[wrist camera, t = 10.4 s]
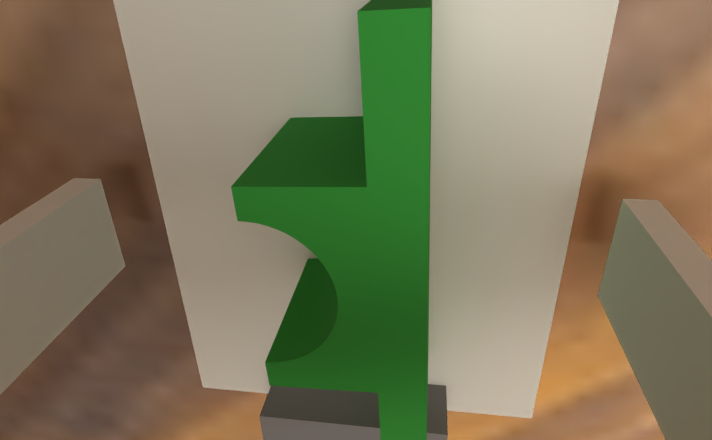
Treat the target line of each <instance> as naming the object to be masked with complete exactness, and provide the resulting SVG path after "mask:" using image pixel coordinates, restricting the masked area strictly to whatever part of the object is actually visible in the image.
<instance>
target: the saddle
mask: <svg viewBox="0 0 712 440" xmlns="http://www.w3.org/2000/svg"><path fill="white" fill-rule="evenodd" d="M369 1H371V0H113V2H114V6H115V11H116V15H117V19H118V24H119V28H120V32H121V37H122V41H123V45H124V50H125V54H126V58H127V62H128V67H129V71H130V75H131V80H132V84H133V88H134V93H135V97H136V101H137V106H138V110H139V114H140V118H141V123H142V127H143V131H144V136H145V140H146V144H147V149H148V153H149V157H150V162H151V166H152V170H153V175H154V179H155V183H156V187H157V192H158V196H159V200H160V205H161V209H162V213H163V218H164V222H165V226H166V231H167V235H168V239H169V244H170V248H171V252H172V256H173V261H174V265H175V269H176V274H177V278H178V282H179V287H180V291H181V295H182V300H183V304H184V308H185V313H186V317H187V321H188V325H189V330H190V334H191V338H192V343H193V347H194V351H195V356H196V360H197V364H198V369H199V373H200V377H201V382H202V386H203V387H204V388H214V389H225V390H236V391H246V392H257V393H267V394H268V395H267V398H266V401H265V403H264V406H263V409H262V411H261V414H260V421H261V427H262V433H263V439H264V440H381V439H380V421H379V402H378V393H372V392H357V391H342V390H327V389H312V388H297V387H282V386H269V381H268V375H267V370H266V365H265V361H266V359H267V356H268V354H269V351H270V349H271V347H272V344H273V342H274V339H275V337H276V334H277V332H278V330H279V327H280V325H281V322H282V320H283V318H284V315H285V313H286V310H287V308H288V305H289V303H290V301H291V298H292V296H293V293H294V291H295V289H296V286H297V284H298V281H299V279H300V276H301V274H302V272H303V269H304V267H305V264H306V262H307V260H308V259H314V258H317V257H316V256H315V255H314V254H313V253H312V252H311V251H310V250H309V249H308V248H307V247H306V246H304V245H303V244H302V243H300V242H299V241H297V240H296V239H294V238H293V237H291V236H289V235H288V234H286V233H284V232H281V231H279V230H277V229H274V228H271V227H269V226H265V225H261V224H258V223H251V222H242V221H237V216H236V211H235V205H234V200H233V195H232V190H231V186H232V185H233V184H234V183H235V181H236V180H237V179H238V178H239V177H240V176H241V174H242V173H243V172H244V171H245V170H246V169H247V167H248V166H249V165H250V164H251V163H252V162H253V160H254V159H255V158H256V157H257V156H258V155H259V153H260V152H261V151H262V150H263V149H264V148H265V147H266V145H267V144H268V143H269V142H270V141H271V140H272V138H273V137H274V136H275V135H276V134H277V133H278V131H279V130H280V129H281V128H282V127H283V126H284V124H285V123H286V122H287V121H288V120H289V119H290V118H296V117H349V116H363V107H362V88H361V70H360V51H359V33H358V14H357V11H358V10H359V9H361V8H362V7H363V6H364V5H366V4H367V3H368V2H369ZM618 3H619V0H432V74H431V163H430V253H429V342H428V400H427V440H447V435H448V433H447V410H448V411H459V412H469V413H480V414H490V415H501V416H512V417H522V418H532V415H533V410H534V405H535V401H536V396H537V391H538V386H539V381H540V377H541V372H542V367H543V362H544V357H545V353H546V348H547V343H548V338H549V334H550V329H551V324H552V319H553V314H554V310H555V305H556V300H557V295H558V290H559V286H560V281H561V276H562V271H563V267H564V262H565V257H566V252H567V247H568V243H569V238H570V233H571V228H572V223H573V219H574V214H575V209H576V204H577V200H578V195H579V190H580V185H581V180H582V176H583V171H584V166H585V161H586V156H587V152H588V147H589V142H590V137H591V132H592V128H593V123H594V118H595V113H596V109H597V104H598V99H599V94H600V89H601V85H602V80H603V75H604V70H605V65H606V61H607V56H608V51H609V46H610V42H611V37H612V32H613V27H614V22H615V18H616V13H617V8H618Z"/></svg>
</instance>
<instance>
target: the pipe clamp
mask: <svg viewBox="0 0 712 440" xmlns="http://www.w3.org/2000/svg"><path fill="white" fill-rule="evenodd" d="M357 14H358V33H359V51H360V70H361V88H362V107H363V116H349V117H296V118H290V119H289V120H288V121H287V122H286V123H285V124H284V126H283V127H282V128H281V129H280V130H279V131H278V133H277V134H276V135H275V136H274V137H273V138H272V140H271V141H270V142H269V143H268V144H267V145H266V147H265V148H264V149H263V150H262V151H261V152H260V153H259V155H258V156H257V157H256V158H255V159H254V160H253V162H252V163H251V164H250V165H249V166H248V167H247V169H246V170H245V171H244V172H243V173H242V174H241V176H240V177H239V178H238V179H237V180H236V181H235V183H234V184H233V185H232V186H231V190H232V195H233V200H234V205H235V211H236V216H237V221H242V222H251V223H258V224H261V225H265V226H269V227H271V228H274V229H277V230H279V231H281V232H284V233H286V234H288V235H289V236H291V237H293V238H294V239H296V240H297V241H299V242H300V243H302V244H303V245H304V246H306V247H307V248H308V249H309V250H310V251H311V252H312V253H313V254H314V255H315V256H316V257H317V258H314V259H308V260H307V262H306V264H305V267H304V269H303V272H302V274H301V276H300V279H299V281H298V284H297V286H296V289H295V291H294V293H293V296H292V298H291V301H290V303H289V305H288V308H287V310H286V313H285V315H284V318H283V320H282V322H281V325H280V327H279V330H278V332H277V334H276V337H275V339H274V342H273V344H272V347H271V349H270V351H269V354H268V356H267V359H266V361H265V365H266V370H267V375H268V381H269V386H282V387H297V388H312V389H327V390H342V391H357V392H372V393H378V402H379V421H380V439H381V440H427V400H428V342H429V253H430V163H431V74H432V0H371V1H369V2H368V3H367V4H366V5H364V6H363V7H362V8H361V9H359V10H358V11H357Z"/></svg>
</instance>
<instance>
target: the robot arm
mask: <svg viewBox="0 0 712 440" xmlns="http://www.w3.org/2000/svg"><path fill="white" fill-rule="evenodd" d="M124 267H125V262H124V259H123V255H122V252H121V248H120V245H119V241H118V238H117V235H116V231H115V228H114V224H113V221H112V217H111V214H110V210H109V207H108V203H107V200H106V196H105V193H104V189H103V186H102V182H101V179H88V178H73V179H72V180H70V181H68V182H67V183H65V184H64V185H62V186H61V187H59V188H57V189H56V190H54V191H53V192H51V193H50V194H48V195H46V196H45V197H43V198H42V199H40V200H39V201H37V202H35V203H34V204H32V205H31V206H29V207H27V208H26V209H24V210H23V211H21V212H20V213H18V214H16V215H15V216H13V217H12V218H10V219H9V220H7V221H5V222H4V223H2V224H1V225H0V395H1V394H2V393H3V392H4V391H5V390H6V389H7V387H8V386H9V385H10V384H11V383H12V382H13V381H14V380H15V379H16V378H17V377H18V376H19V375H20V374H21V373H22V372H23V371H24V370H25V369H26V368H27V367H28V366H29V365H30V364H31V363H32V362H33V361H34V360H35V359H36V358H37V357H38V356H39V355H40V354H41V353H42V352H43V351H44V350H45V348H46V347H47V346H48V345H49V344H50V343H51V342H52V341H53V340H54V339H55V338H56V337H57V336H58V335H59V334H60V333H61V332H62V331H63V330H64V329H65V328H66V327H67V326H68V325H69V324H70V323H71V322H72V321H73V320H74V319H75V318H76V317H77V316H78V315H79V314H80V313H81V312H82V310H83V309H84V308H85V307H86V306H87V305H88V304H89V303H90V302H91V301H92V300H93V299H94V298H95V297H96V296H97V295H98V294H99V293H100V292H101V291H102V290H103V289H104V288H105V287H106V286H107V285H108V284H109V283H110V282H111V281H112V280H113V279H114V278H115V277H116V276H117V275H118V274H119V273H120V271H121V270H122V269H123V268H124ZM598 297H599V299H600V301H601V303H602V306H603V308H604V310H605V312H606V314H607V316H608V318H609V320H610V323H611V325H612V327H613V329H614V331H615V333H616V335H617V337H618V340H619V342H620V344H621V346H622V348H623V350H624V352H625V354H626V357H627V359H628V361H629V363H630V365H631V367H632V369H633V371H634V374H635V376H636V378H637V380H638V382H639V384H640V386H641V388H642V391H643V393H644V395H645V397H646V399H647V401H648V403H649V405H650V408H651V410H652V412H653V414H654V416H655V418H656V420H657V422H658V425H659V427H660V429H661V431H662V433H663V435H664V437H665V439H666V440H712V260H711V259H710V258H709V257H708V255H707V254H706V253H705V252H704V251H703V250H702V249H701V248H700V246H699V245H698V244H697V243H696V242H695V241H694V240H693V239H692V238H691V236H690V235H689V234H688V233H687V232H686V231H685V230H684V229H683V227H682V226H681V225H680V224H679V223H678V222H677V221H676V220H675V218H674V217H673V216H672V215H671V214H670V213H669V212H668V211H667V209H666V208H665V207H664V206H663V205H662V204H661V203H660V202H659V200H643V199H622V203H621V207H620V211H619V215H618V219H617V222H616V226H615V230H614V234H613V238H612V242H611V246H610V250H609V254H608V258H607V262H606V265H605V269H604V273H603V277H602V281H601V285H600V289H599V293H598Z"/></svg>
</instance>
